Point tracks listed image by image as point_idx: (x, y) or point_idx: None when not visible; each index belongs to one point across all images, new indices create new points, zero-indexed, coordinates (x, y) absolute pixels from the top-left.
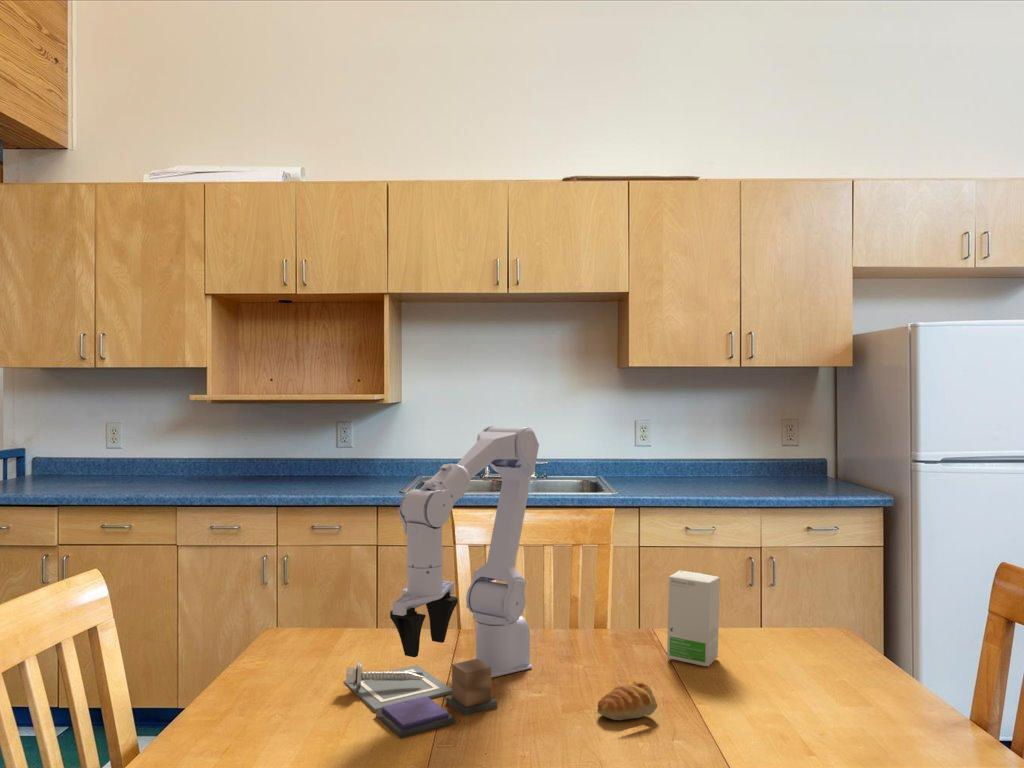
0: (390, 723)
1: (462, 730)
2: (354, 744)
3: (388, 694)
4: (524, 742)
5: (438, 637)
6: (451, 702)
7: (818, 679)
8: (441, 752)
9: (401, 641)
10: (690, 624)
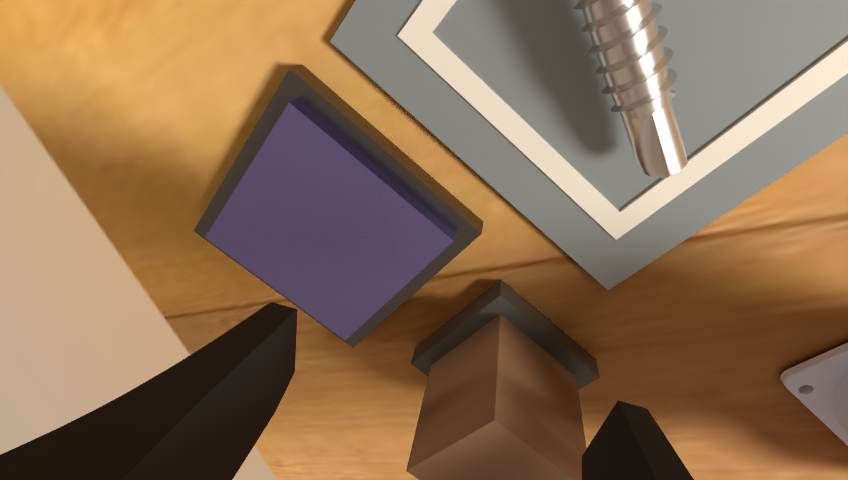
0: (227, 175)
1: (331, 356)
2: (97, 95)
3: (506, 22)
4: (333, 465)
5: (601, 470)
6: (472, 312)
7: None
8: (205, 334)
9: (185, 359)
10: None
